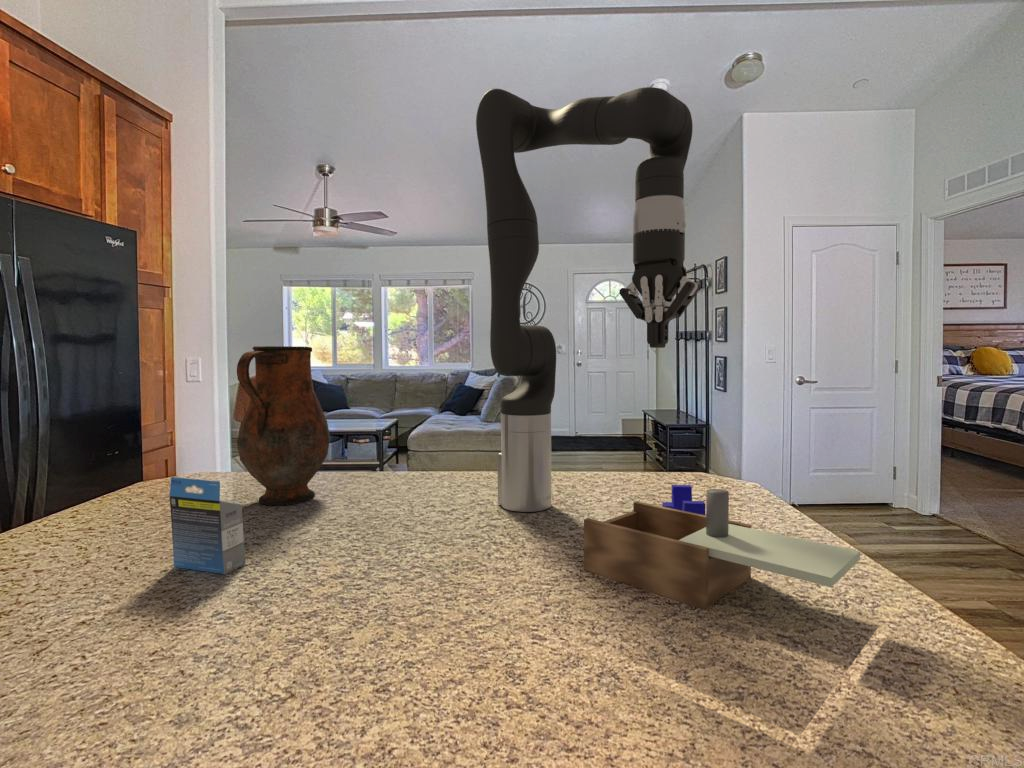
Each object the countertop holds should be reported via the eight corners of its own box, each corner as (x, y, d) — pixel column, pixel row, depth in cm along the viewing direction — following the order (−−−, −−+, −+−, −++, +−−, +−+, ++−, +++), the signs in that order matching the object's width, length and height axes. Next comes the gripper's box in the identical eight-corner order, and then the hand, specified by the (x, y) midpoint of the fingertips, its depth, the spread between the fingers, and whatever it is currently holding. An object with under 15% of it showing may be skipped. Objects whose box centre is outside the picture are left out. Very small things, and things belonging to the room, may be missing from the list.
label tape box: (246, 565, 76) (243, 474, 75) (222, 576, 72) (219, 481, 71) (196, 558, 79) (193, 470, 78) (170, 568, 75) (166, 476, 74)
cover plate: (678, 548, 63) (678, 495, 63) (717, 528, 70) (718, 481, 70) (831, 587, 52) (832, 524, 52) (860, 559, 59) (861, 503, 59)
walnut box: (584, 575, 71) (583, 519, 71) (636, 551, 80) (636, 501, 79) (704, 616, 60) (705, 549, 59) (750, 583, 68) (751, 524, 68)
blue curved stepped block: (662, 519, 96) (662, 484, 96) (689, 520, 95) (689, 485, 95) (673, 542, 84) (673, 503, 84) (705, 543, 83) (705, 503, 83)
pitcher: (346, 489, 118) (343, 346, 117) (288, 519, 97) (283, 344, 96) (274, 487, 121) (270, 347, 120) (203, 514, 100) (197, 345, 99)
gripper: (607, 235, 87) (607, 348, 88) (687, 220, 77) (685, 347, 78) (635, 241, 92) (634, 348, 93) (712, 228, 83) (710, 347, 84)
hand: (657, 347), depth 86 cm, fingers closed
